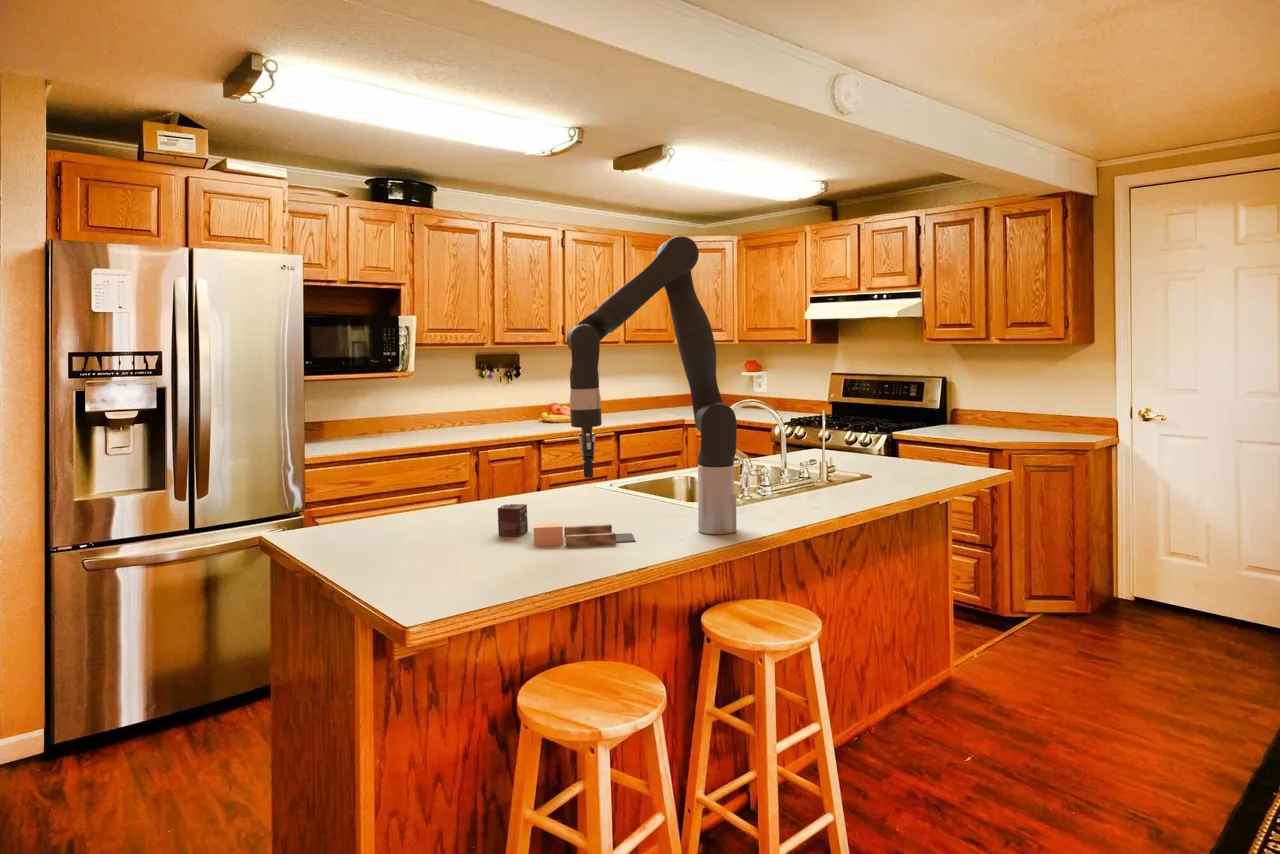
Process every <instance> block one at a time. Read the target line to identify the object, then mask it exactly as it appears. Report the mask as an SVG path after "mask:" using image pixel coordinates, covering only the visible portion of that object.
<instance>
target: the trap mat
mask: <svg viewBox="0 0 1280 854" xmlns="http://www.w3.org/2000/svg"><path fill="white" fill-rule="evenodd" d="M615 534H616V544H618V543H619V544H620V543H635V542H636V539H635V537H634V535H633V534H632V532H630V533H629V532H627V533H626V532H625V533H615Z"/></svg>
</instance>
